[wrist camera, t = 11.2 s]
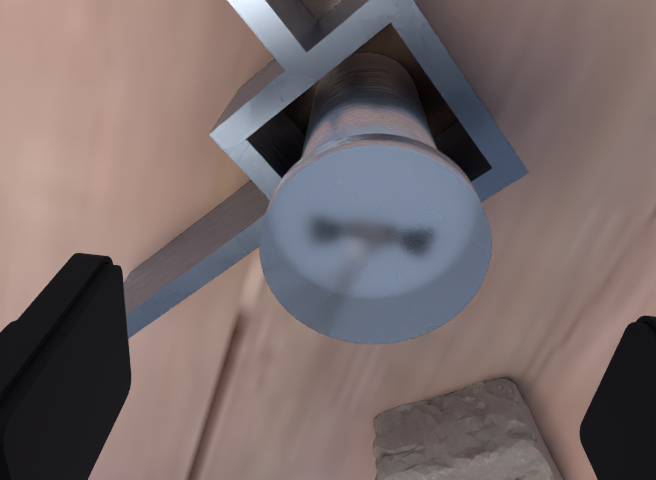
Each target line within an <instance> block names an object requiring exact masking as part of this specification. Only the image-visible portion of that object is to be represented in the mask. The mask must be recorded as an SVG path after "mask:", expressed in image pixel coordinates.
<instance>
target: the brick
mask: <svg viewBox="0 0 656 480" xmlns="http://www.w3.org/2000/svg"><path fill="white" fill-rule="evenodd" d="M374 429H375V432H376V438H375V440H374V443H373V451H374V454H375V457H376V468H377V475H376V479H375V480H563V478H562V476H561V474H560V472H559V471H558V469H557V467H556V465H555V462H554V461H553V460H552V458H551V455H550V453H549V451H548V449H547V447H546V445H545V443H544V441H543V439H542V437H541V435H540V432H539V430H538V428H537V426H536V423H535V421H534V419H533V416H532V413H531V411H530V409H529V407H528V406H527V404H526V403H525V401H524V400H523V398H522V396H521V394H520V392H519V390H518V389H517V387H516V385H515V384H514V383H513V382H511V381H509V380H508V379H506V378H501V379H492V380H490V381H487V382H477V383H474V384H472V385H470V386H468V387H466V388H464V389H462V390H458V391H455V392H454V393H452V394H447V395H444V396H438V397H436V398H433V399H431V400H423V401H420V402H417V403H410V404H405V405H401V406H398V407H396V408H394V409H391V410H388V411H385V412H383V413H381V414H380V415H378V416H377V417H376V419H375V420H374Z"/></svg>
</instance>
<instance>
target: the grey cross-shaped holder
mask: <svg viewBox="0 0 656 480" xmlns="http://www.w3.org/2000/svg"><path fill="white" fill-rule="evenodd" d="M228 2H229V3H230V4H231V5H232V6H233V8H234V9H235V10H236V11H237V13H238V14H239V15H240V16H241V17H242V19H243V20H244V21H245V22H246V24H247V25H248V26H249V27H250V28H251V30H252V31H253V32H254V33H255V35H256V36H257V37H258V38H259V39H260V41H261V42H262V43H263V44H264V46H265V47H266V48H267V49H268V50H269V52H270V53H271V54H272V55H273V56H274V58H275V59H274V60H273V61H271V62H270V63H269V64H268V65H267V66H266V67H264V68H263V69H262V70H261V71H260V72H258V73H257V74H256V75H255V76H254V77H253V78H251V79H250V80H249V81H248V82H247V83H246V84H244V85H243V86H242V87H241V88H240V89H239V90H238V91H237V93H236V94H235V96H234V97H233V99H232V100H231V102H230V103H229V105H228V106H227V108H226V109H225V111H224V112H223V114H222V115H221V117H220V118H219V120H218V121H217V123H216V125H215V126H214V128H213V129H212V131H211V132H210V134H209V135H210V136H211V137H212V139H213V140H214V141H215V142H216V143H217V144H218V145H219V146H220V147H221V148H222V149H223V150H224V151H225V152H226V154H227V155H228V156H229V157H230V158H231V159H232V160H233V161H234V162H235V163H236V164H237V165H238V166H239V167H240V168H241V170H242V171H243V172H244V173H245V174H246V175H247V176H248V177H249V178H250V179H251V181H250V182H248V183H247V184H246V185H245V186H243V187H242V188H241V189H239V190H238V191H237V192H235V193H234V194H233V195H232V196H230V197H229V198H228V199H226V200H225V201H224V202H222V203H221V204H220V205H218V206H217V207H216V208H215V209H213V210H212V211H211V212H209V213H208V214H207V215H205V216H204V217H203V218H201V219H200V220H199V221H198V222H196V223H195V224H194V225H192V226H191V227H190V228H188V229H187V230H186V231H185V232H183V233H182V234H181V235H179V236H178V237H177V238H175V239H174V240H173V241H171V242H170V243H169V244H168V245H166V246H165V247H164V248H162V249H161V250H160V251H158V252H157V253H156V254H154V255H153V256H152V257H151V258H149V259H148V260H147V261H145V262H144V263H143V264H141V265H140V266H139V267H137V268H136V269H135V270H134V271H132V272H131V273H130V274H129V275H128V277H127V279H126V280H125V282H124V283H123V285H124V297H125V309H126V321H127V332H128V338H130V337H131V336H133V335H134V334H136V333H137V332H138V331H140V330H141V329H143V328H144V327H145V326H147V325H148V324H150V323H151V322H153V321H154V320H155V319H157V318H158V317H160V316H161V315H163V314H164V313H165V312H167V311H168V310H170V309H171V308H172V307H174V306H175V305H177V304H178V303H180V302H181V301H182V300H184V299H185V298H187V297H188V296H190V295H191V294H192V293H194V292H195V291H197V290H198V289H199V288H201V287H202V286H204V285H205V284H207V283H208V282H209V281H211V280H212V279H214V278H215V277H217V276H218V275H219V274H221V273H222V272H224V271H225V270H226V269H228V268H229V267H231V266H232V265H234V264H235V263H236V262H238V261H239V260H241V259H242V258H244V257H245V256H246V255H248V254H249V253H251V252H252V251H253V250H255V249H256V248H258V247H259V246H260V236H261V229H262V226H263V222H264V219H265V216H266V212H267V209H268V205H269V202H270V199H271V197H272V195H273V193H274V191H275V188H276V187H277V185H278V184H279V182H280V181H281V179H282V178H283V176H284V175H285V174H286V173H287V172H288V171H289V170H290V168H291V167H292V166H293V165H295V164H296V163H297V162H298V161H299V160H300V159H301V156H302V152H303V147H304V142H305V138H306V137H305V136H304V135H303V134H302V132H301V131H300V130H299V129H298V128H297V127H296V125H295V124H294V123H293V122H292V121H291V119H290V118H289V117H288V116H287V115H286V114H285V112H284V111H283V110H282V109H284V108H285V107H286V106H287V105H289V104H290V103H291V102H292V101H294V100H295V99H296V98H297V97H299V96H300V95H301V94H302V93H304V92H305V91H306V90H307V89H308V88H310V87H311V86H312V85H313V84H315V83H316V82H317V81H318V80H320V79H321V78H322V77H323V76H325V75H326V74H327V73H328V72H330V71H331V70H332V69H333V68H335V67H336V66H337V65H338V64H340V63H341V62H342V61H343V60H344V59H346V58H347V57H348V56H349V55H351V54H352V53H353V52H354V51H356V50H357V49H358V48H359V47H361V46H362V45H363V44H364V43H366V42H367V41H368V40H369V39H371V38H372V37H373V36H374V35H376V34H377V33H378V32H379V31H380V30H382V29H383V28H384V27H385V26H387V25H388V24H389V23H391V24H392V26H393V27H394V28H395V30H396V31H397V33H398V34H399V36H400V37H401V38H402V40H403V41H404V43H405V44H406V46H407V47H408V48H409V50H410V51H411V53H412V54H413V56H414V57H415V58H416V60H417V61H418V63H419V64H420V66H421V67H422V68H423V70H424V71H425V73H426V74H427V75H428V77H429V78H430V80H431V81H432V83H433V84H434V85H435V87H436V88H437V90H438V91H439V93H440V94H441V95H442V97H443V98H444V100H445V101H446V103H447V104H448V105H449V107H450V108H451V110H452V111H453V113H454V114H455V115H456V117H457V118H458V120H459V121H458V122H456V123H455V124H453V125H452V126H451V127H449V128H448V129H446V130H445V131H443V132H442V133H440V134H439V135H438V136H436V137H435V138H433V139H434V142H435V144H436V147H437V150H439V151H440V152H442V153H443V154H445V155H446V156H448V157H449V158H450V159H451V160H452V161H453V162H455V163H456V164H457V165H458V166H459V167H460V168H461V170H462V171H463V172H464V173H465V174H466V175H467V177H468V178H469V180H470V181H471V183H472V185H473V186H474V188H475V190H476V193H477V195H478V197H479V199H480V202H482V201H484V200H485V199H487V198H489V197H490V196H492V195H494V194H495V193H497V192H498V191H500V190H502V189H503V188H505V187H506V186H508V185H510V184H511V183H513V182H514V181H516V180H518V179H519V178H521V177H522V176H524V175H526V174H527V173H529V172H528V171H527V169H526V168H525V166H524V165H523V163H522V162H521V160H520V159H519V157H518V156H517V154H516V153H515V151H514V150H513V148H512V147H511V145H510V144H509V142H508V141H507V139H506V138H505V136H504V135H503V133H502V132H501V130H500V129H499V127H498V126H497V124H496V123H495V121H494V120H493V118H492V117H491V115H490V114H489V112H488V111H487V109H486V108H485V106H484V105H483V103H482V102H481V100H480V99H479V97H478V96H477V95H476V93H475V92H474V90H473V89H472V87H471V86H470V84H469V83H468V81H467V80H466V78H465V77H464V75H463V74H462V72H461V71H460V69H459V68H458V66H457V65H456V63H455V62H454V60H453V59H452V57H451V56H450V54H449V53H448V51H447V50H446V48H445V47H444V45H443V44H442V42H441V41H440V39H439V38H438V36H437V35H436V33H435V32H434V30H433V29H432V27H431V26H430V24H429V23H428V21H427V20H426V18H425V17H424V15H423V14H422V12H421V11H420V9H419V8H418V6H417V5H416V3H415V2H414V0H343V1H342V2H340V3H339V4H338V5H337V6H336V7H335V8H333V9H332V10H331V11H330V12H329V13H328V14H326V15H325V16H324V17H323V18H322V19H321V20H319V21H318V22H317V21H316V20H315V19H314V18H313V16H312V15H311V14H310V12H309V11H308V10H307V8H306V7H305V6H304V4H303V3H302V2H301V0H228Z"/></svg>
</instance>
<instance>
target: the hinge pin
mask: <svg viewBox="0 0 656 480" xmlns="http://www.w3.org/2000/svg"><path fill="white" fill-rule="evenodd" d="M491 245H492V243H491V231H490V227H489V223H488V219H487V216H486V213H485V211H484V209H483V206H482V204H481V202H480V199H479V197H478V195H477V193H476V190H475V188H474V186H473V185H472V183H471V181H470V180H469V178H468V177H467V175H466V174H465V173H464V172H463V171H462V170H461V168H460V167H459V166H458V165H457V164H456V163H455V162H453V161H452V160H451V159H450V158H449V157H448V156H446V155H445V154H443V153H442V152H440V151H439V150H437V147H436V144H435V142H434V139H433V136H432V133H431V130H430V127H429V124H428V121H427V119H426V116H425V113H424V110H423V107H422V104H421V101H420V98H419V95H418V93H417V90H416V87H415V84H414V82H413V80H412V78H411V76H410V75H409V73H408V72H407V71H406V70H405V68H404V67H402V66H401V65H400V64H399V63H398V62H396V61H395V60H393V59H391V58H389V57H387V56H385V55H382V54H377V53H368V52H365V53H357V54H352V55H350V56H348V57H347V58H346V59H344V60H343V61H342V62H341V63H340V64H338V65H337V66H336V67H335V68H333V69H332V70H331V71H330V72H328V73H327V74H326V75H325V76H323V77H322V78H321V80H320V82H319V84H318V86H317V89H316V92H315V97H314V101H313V106H312V110H311V115H310V120H309V124H308V129H307V133H306V138H305V142H304V147H303V152H302V156H301V159H300V160H299V161H298V162H297V163H296V164H295V165H293V166H292V167H291V168H290V170H289V171H288V172H287V173H286V174H285V175H284V176H283V178H282V179H281V181H280V182H279V184H278V185H277V187H276V188H275V191H274V193H273V195H272V197H271V199H270V202H269V205H268V209H267V212H266V216H265V219H264V222H263V226H262V229H261V236H260V259H261V265H262V270H263V272H264V275H265V278H266V281H267V283H268V285H269V287H270V289H271V291H272V292H273V294H274V295H275V297H276V298H277V300H278V301H279V302H280V303H281V305H282V306H283V307H284V308H285V309H286V310H287V311H288V312H289V313H290V314H291V315H293V316H294V317H295V318H296V319H297V320H299V321H300V322H302V323H303V324H305V325H306V326H308V327H310V328H311V329H313V330H315V331H317V332H319V333H322V334H324V335H327V336H329V337H332V338H336V339H339V340H343V341H348V342H354V343H363V344H386V343H393V342H400V341H404V340H408V339H412V338H415V337H418V336H421V335H423V334H426V333H428V332H430V331H432V330H434V329H436V328H438V327H440V326H441V325H443V324H445V323H446V322H448V321H449V320H451V319H452V318H453V317H454V316H456V315H457V314H458V313H459V312H460V311H461V310H462V309H463V308H464V307H465V306H466V305H467V304H468V303H469V302H470V301H471V299H472V298H473V297H474V295H475V294H476V293H477V291H478V289H479V287H480V286H481V284H482V282H483V280H484V277H485V275H486V272H487V270H488V266H489V262H490V257H491Z"/></svg>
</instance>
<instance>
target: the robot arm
mask: <svg viewBox="0 0 656 480" xmlns="http://www.w3.org/2000/svg"><path fill="white" fill-rule="evenodd" d="M130 385H131V368H130V356H129V344H128V332H127V321H126V309H125V297H124V285H123V274H122V269H121V267H120V266H119V265H113V262H112V260H111V258H110V257H109V256H101V255H92V254H83V253H75V254H74V255H73V256H72V257H71V258H70V259H69V260H68V262H67V263H66V264H65V265H64V266H63V267H62V269H61V270H60V271H59V272H58V273H57V274H56V275H55V277H54V278H53V279H52V280H51V281H50V282H49V284H48V285H47V286H46V287H45V288H44V289H43V291H42V292H41V293H40V294H39V295H38V296H37V298H36V299H35V300H34V301H33V302H32V303H31V304H30V306H29V307H28V308H27V309H26V310H25V311H24V313H23V314H22V315H21V316H20V317H19V318H18V320H16V321H13V322H11V323H10V324H9V325H7V326H6V327H5V328H4V329H3V330H2V331H1V333H0V480H88V478H89V476H90V473H91V471H92V469H93V467H94V465H95V463H96V461H97V459H98V457H99V455H100V453H101V450H102V448H103V446H104V444H105V442H106V440H107V438H108V436H109V434H110V432H111V430H112V428H113V425H114V423H115V421H116V419H117V417H118V415H119V413H120V411H121V409H122V407H123V405H124V403H125V400H126V398H127V396H128V393H129V390H130ZM580 440H581V443H582V446H583V448H584V450H585V453H586V455H587V457H588V459H589V461H590V463H591V466H592V468H593V470H594V472H595V474H596V477H597V479H598V480H656V317H653V316H642V317H640V318H639V319H638V320H637V321H636V322H633V323H630V324H629V325H628V326H627V328H626V329H625V331H624V334H623V336H622V338H621V340H620V342H619V344H618V346H617V348H616V351H615V353H614V355H613V357H612V359H611V361H610V363H609V365H608V368H607V370H606V372H605V374H604V376H603V378H602V380H601V382H600V385H599V387H598V389H597V391H596V393H595V395H594V397H593V399H592V402H591V404H590V406H589V408H588V410H587V412H586V414H585V416H584V419H583V421H582V423H581V426H580Z"/></svg>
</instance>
